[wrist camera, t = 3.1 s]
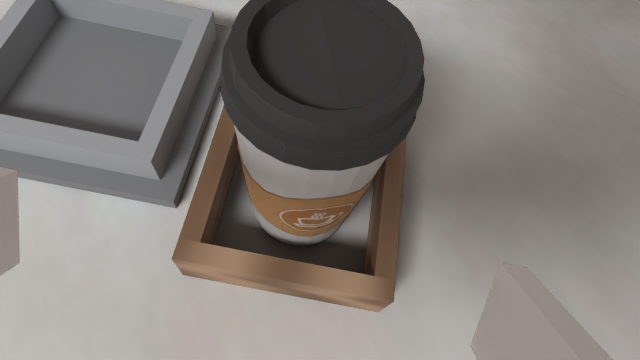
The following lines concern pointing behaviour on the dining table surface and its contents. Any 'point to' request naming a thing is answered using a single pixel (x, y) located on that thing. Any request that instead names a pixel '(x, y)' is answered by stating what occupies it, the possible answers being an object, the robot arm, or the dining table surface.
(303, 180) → the coffee cup
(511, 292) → the robot arm
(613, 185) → the dining table surface
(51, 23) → the dock pad
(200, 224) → the walnut holder
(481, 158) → the dining table surface
